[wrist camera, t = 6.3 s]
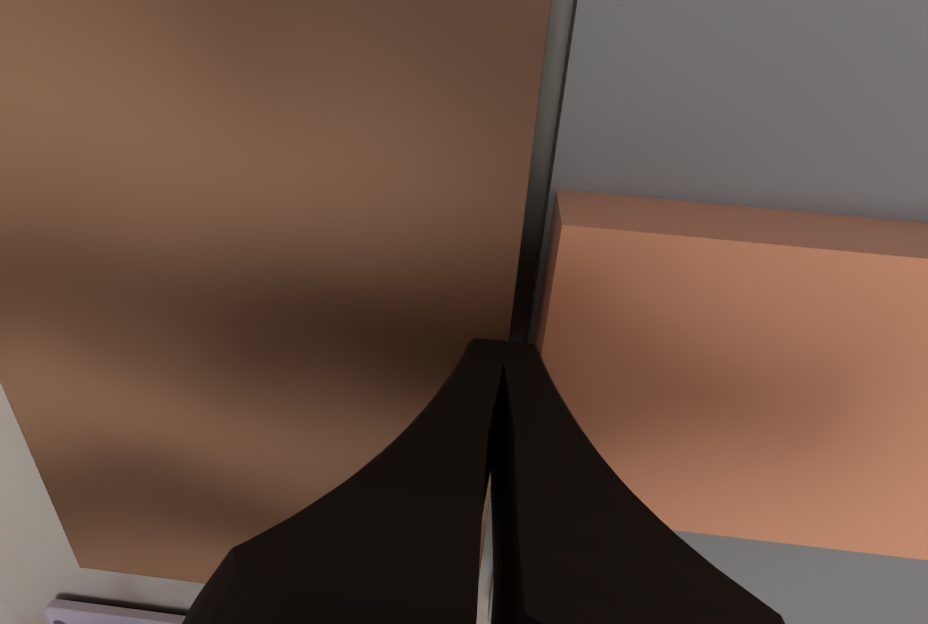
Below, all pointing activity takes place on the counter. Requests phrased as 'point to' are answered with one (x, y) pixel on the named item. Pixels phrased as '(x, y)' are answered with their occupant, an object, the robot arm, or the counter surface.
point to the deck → (247, 247)
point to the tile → (747, 365)
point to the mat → (757, 183)
